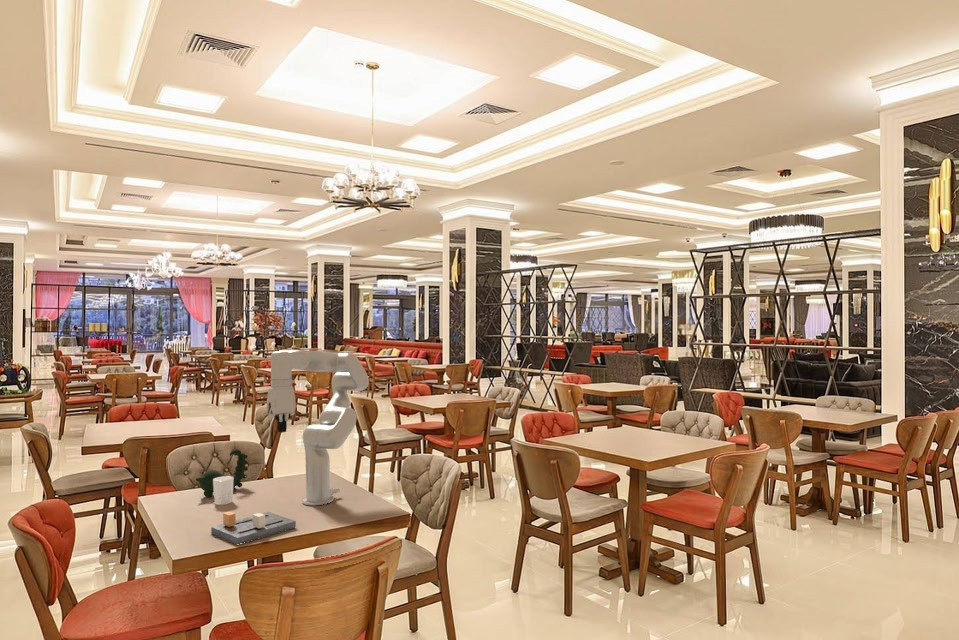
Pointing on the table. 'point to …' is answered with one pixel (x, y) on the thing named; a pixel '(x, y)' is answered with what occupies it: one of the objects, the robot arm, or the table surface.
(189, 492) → the table surface
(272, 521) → the console
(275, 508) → the table surface
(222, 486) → the white cup
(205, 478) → the toy figurine
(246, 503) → the table surface
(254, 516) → the fader
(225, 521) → the fader
